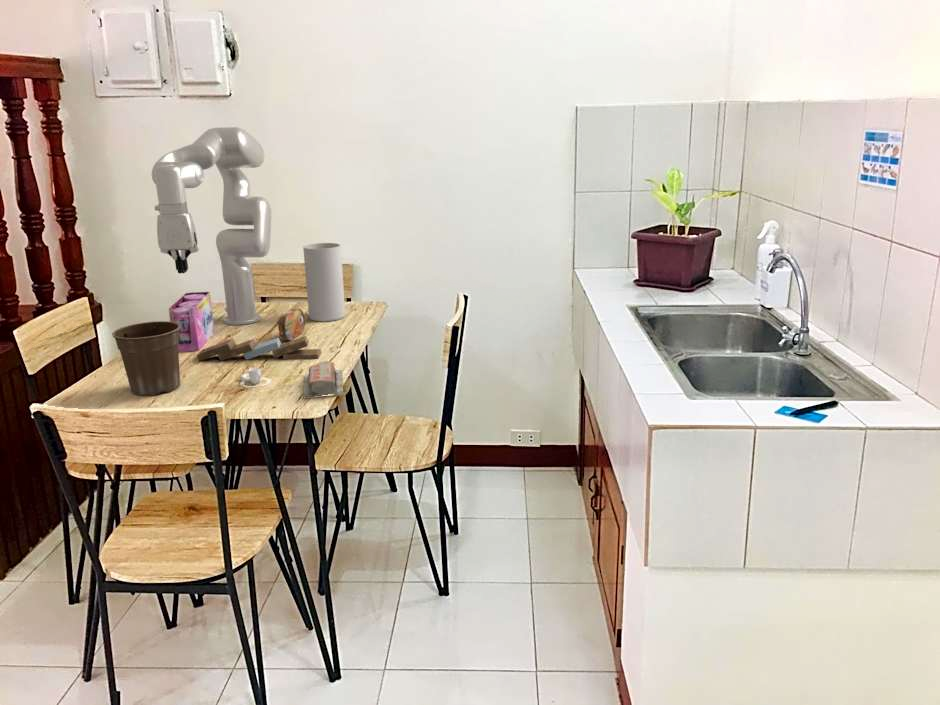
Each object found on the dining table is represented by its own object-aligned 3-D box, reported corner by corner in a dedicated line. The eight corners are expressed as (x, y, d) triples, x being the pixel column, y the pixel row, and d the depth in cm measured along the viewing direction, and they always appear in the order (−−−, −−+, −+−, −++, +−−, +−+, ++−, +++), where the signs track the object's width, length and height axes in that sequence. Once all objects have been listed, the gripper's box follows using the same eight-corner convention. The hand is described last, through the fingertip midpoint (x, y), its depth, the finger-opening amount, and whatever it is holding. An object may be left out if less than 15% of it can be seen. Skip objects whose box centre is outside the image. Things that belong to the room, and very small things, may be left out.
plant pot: (111, 400, 199) (101, 338, 194) (134, 379, 214) (125, 322, 210) (177, 398, 200) (168, 336, 195) (195, 377, 215) (187, 320, 210)
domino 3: (243, 353, 229) (276, 342, 229) (246, 348, 234) (278, 337, 234) (246, 359, 229) (279, 348, 230) (248, 354, 235) (280, 343, 235)
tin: (287, 343, 245) (285, 317, 243) (278, 343, 246) (275, 317, 243) (306, 330, 259) (304, 305, 257) (297, 330, 260) (295, 305, 257)
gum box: (198, 352, 238) (193, 308, 234) (171, 354, 237) (165, 310, 233) (215, 331, 261) (210, 291, 257) (190, 332, 260) (185, 292, 256)
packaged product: (342, 379, 198) (301, 382, 196) (343, 397, 199) (303, 400, 198) (341, 358, 215) (304, 360, 213) (342, 374, 216) (305, 377, 215)
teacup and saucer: (238, 380, 213) (237, 366, 212) (268, 376, 216) (267, 362, 215) (241, 390, 205) (239, 375, 204) (272, 386, 208) (271, 371, 207)
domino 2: (217, 354, 229) (249, 344, 228) (223, 349, 234) (254, 338, 233) (220, 361, 229) (252, 350, 228) (225, 355, 234) (257, 345, 234)
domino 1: (196, 355, 229) (227, 343, 228) (202, 349, 234) (233, 338, 233) (199, 361, 229) (230, 349, 228) (205, 355, 234) (236, 344, 233)
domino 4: (272, 351, 229) (305, 339, 229) (274, 346, 234) (306, 335, 234) (274, 357, 229) (307, 346, 230) (276, 353, 234) (308, 341, 235)
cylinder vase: (304, 321, 270) (298, 249, 263) (315, 312, 282) (309, 243, 275) (340, 322, 269) (334, 249, 261) (349, 313, 281) (344, 242, 273)
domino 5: (283, 355, 229) (317, 354, 229) (287, 349, 234) (320, 349, 234) (283, 361, 229) (318, 361, 230) (287, 356, 235) (321, 355, 235)
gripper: (142, 212, 223) (152, 275, 228) (195, 210, 222) (203, 274, 228) (152, 208, 230) (162, 270, 236) (204, 206, 229) (212, 269, 235)
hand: (182, 272), depth 232 cm, fingers closed
